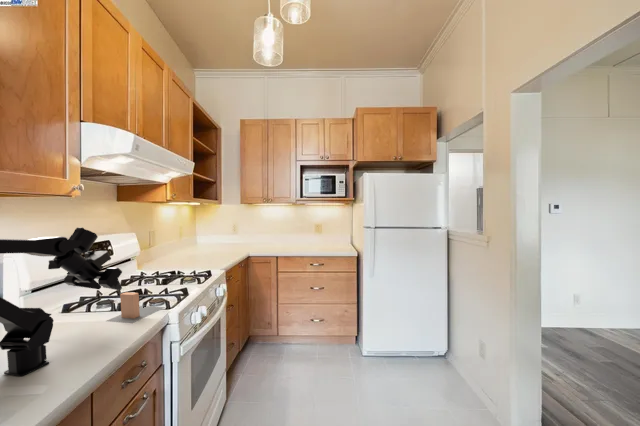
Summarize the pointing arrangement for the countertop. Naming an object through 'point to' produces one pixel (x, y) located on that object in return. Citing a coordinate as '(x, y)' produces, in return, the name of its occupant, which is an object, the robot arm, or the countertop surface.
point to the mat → (143, 313)
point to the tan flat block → (129, 305)
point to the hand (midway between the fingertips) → (110, 288)
